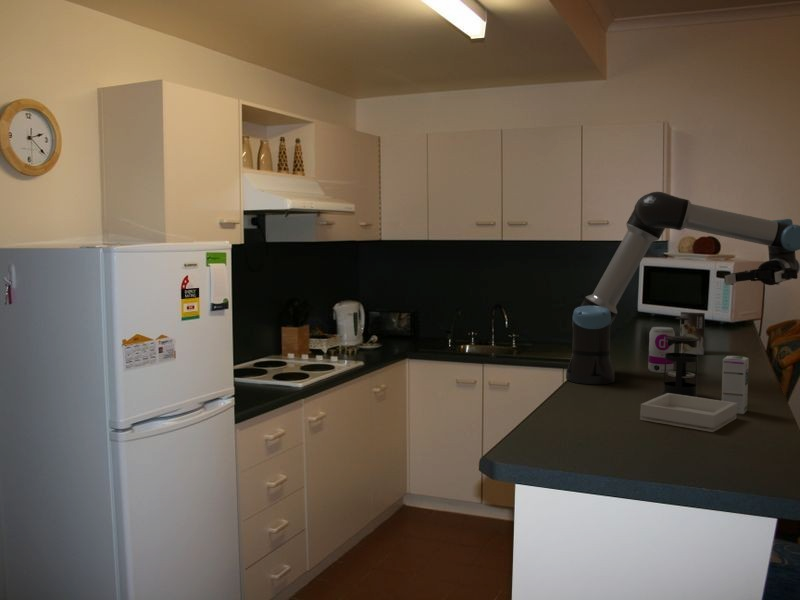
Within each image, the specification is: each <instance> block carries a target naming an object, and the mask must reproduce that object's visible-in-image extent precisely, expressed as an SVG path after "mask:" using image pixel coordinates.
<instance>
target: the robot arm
mask: <svg viewBox="0 0 800 600" xmlns="http://www.w3.org/2000/svg"><path fill="white" fill-rule="evenodd" d="M625 225H626V228H627V231H626V234H625V235H624V237H623V238H622V241H621V242H620V244H619V246H618V247H617V249H616V251H615V253H614V255H613V256H612V258H611V260H610V261H609V264H608V265H607V267H606V270H605V271H604V273H603V275H602V276H601V278H600V280H599V282H598V284H597V286H596V287H595V289H594V291H593V293H592V294H589V295H587V296H585V298H583V299H584V300H583V301H582V303H581V304H580V306H577V307H575V308H574V310H573V313H572V322H571V323H572V346H571V347H572V350H571V357H570V361H569V364H568V366H567V368H566V371H565V379H566V380H567V381H568V380H569V382H573V383H577V384H582V385H583V384H584V385H607V384H613V383H614V382H615V377H616V376H615V372H614V368H613V364H612V362H611V357H610V353H611V351H610V350H611V325H612V323H613V322H614V321H615V318H616V316H617V315H618V310H617V305H618V304H619V302H620V300H621V298H622V296H623V294H624V293H625V290H626V289H627V287H628V285H629V283H630V282H631V281H632V279H633V276H634V275H635V273H636V271H637V269H638V268H639V266H640V264H641V262H642V261H643V259H644V257H645V255H646V254H647V252H648V250H649V249H650V247H651V244H652V243H653V242H657V241H659V240H660V238H661V237H662V234H663V233H664V232H665V230H666V229H669V230H670V229H671V230H676V231H682V230H684V229H687V230H692V231H696V232H702V233H707V234H712V235H716V236H720V237H726V238H731V239H735V240H739V241H744V242H748V243H753V244H759V245H764V246H767V248H768V250H767V251H768V260H766V261H764V262H762V263H761V264H760V265H759V266H758V267H757V268H755V269H750V270H744V271H739V272H732V273H725V274H723V278H724V283H725V286H733V285H734V284H736V283H738V282H744V281H750V282H761V283H762V284H764V285H766V286H775V285H776V286H779V285H780V283H783V282H786V281H790V280H792V279H794V280H797V279H798V278H799V276H798V274H799V272H800V262H799V260H798V259H797V258H796V252H797V251H799V250H800V225H799V224H793V220H792V219H791V218H783V219H775V220H769V219H766V218H762V217H756V216H752V215H745V214H743V213H742V214H741V213H736V212H732V211H727V210H723V209H718V208H712V207H709V206H704V205H703V206H702V205H698V204H695V203H694V204H693V203H692V202H691V201H690V200H689V199H685V198H682V197H678V196H674V195H672V194H668V193H666V192H662V191H653V192H650V193H647V194H644V195H643V196H641V197H640V198H639V199H638V200H637V201H636V202H635V205H634V208H633V211H632V213H631V214H630V216H629V218H628V220H627V222H626V224H625Z"/></svg>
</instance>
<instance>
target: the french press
mask: <svg viewBox="0 0 800 600" xmlns="http://www.w3.org/2000/svg"><path fill="white" fill-rule="evenodd" d="M675 320H679V321H680V320H681V324H682V336H680V335H675V336H672V337H666V339H667V345H668V346H671V345H673V344H674V345H676V344H677V345H680V344H681V353H679V352H674V353H666V354H665V373H663V375H664V376H663V378H664V379H663V392H662V395H664V394H666V393H671V394H678V395H685V396H692V397H698V395H697V390H698V389H697V387H698V364H699V363H698V361H699V355H697V354H689V353H682V347H683V344H688V345H689V346H690V347H693V348H694V347H697V341H699V339H697V338H692V337H686V336H683V324H684V323H685V320H691V319H690V318H686V317H679V316H678V317H675ZM666 360H670V361H674V362H675V363H676V364H675V365H676V366H675V371H674V370H673V371H671V372H666ZM695 362H696V363H695ZM687 363H695V365H696V366H695V373H693V372H688V371H687ZM667 377H669V378H675V381H674V380H673V381H666V380H667V379H666V378H667ZM688 379H690V380H691V379H695V383H694V382H693V383H692V382H689V381H688V382H686V381H687V380H688Z"/></svg>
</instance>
